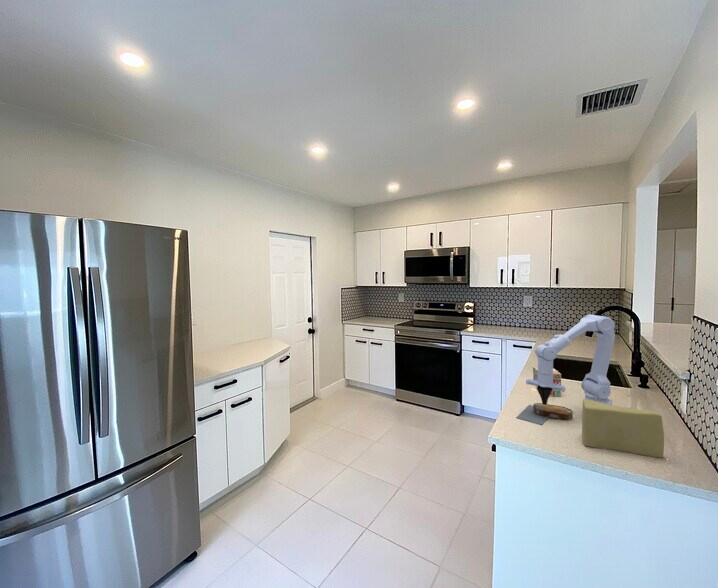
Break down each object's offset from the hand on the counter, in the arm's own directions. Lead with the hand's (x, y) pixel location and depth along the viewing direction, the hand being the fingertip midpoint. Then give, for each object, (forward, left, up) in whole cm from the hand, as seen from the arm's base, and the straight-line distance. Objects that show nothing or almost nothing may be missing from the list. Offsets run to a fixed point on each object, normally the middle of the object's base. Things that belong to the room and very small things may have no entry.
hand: (544, 403), depth 137 cm
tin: (-4, -1, -5) cm, 6 cm away
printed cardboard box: (+8, -38, -6) cm, 39 cm away
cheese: (-26, +10, -6) cm, 29 cm away
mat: (+4, 0, -6) cm, 7 cm away
